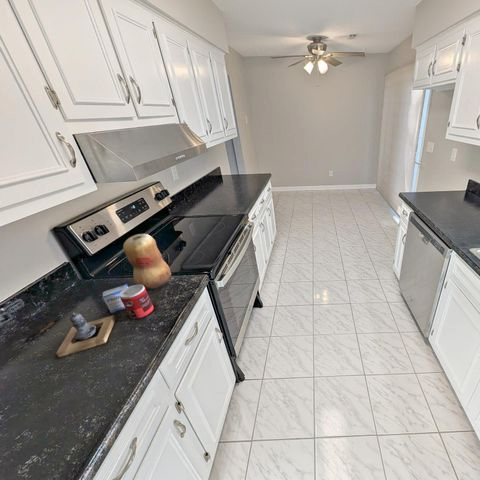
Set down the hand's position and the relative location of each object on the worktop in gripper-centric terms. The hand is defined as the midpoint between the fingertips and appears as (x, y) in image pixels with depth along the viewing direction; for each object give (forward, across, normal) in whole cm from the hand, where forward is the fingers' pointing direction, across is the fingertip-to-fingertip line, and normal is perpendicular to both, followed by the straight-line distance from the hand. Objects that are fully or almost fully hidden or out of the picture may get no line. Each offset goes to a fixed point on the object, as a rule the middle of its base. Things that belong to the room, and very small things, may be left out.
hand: (7, 301), depth 67 cm
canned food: (+24, -11, +26) cm, 37 cm away
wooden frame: (+12, 0, +26) cm, 28 cm away
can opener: (+14, +21, +25) cm, 36 cm away
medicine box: (+27, 0, +26) cm, 38 cm away
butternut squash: (+41, -5, +26) cm, 49 cm away
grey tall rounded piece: (+11, 0, +26) cm, 28 cm away
